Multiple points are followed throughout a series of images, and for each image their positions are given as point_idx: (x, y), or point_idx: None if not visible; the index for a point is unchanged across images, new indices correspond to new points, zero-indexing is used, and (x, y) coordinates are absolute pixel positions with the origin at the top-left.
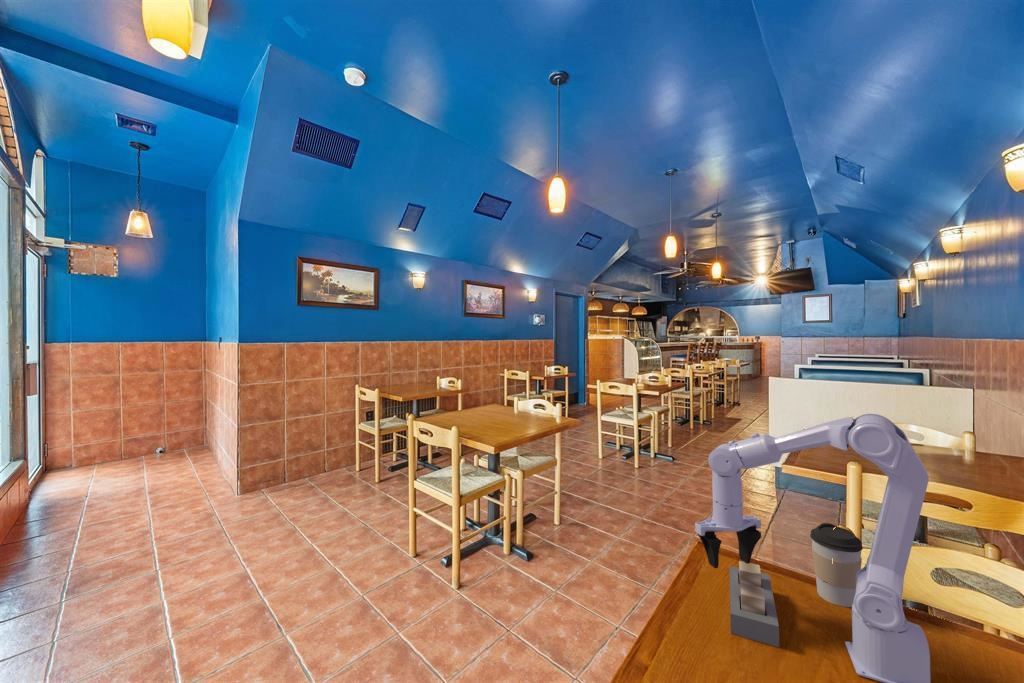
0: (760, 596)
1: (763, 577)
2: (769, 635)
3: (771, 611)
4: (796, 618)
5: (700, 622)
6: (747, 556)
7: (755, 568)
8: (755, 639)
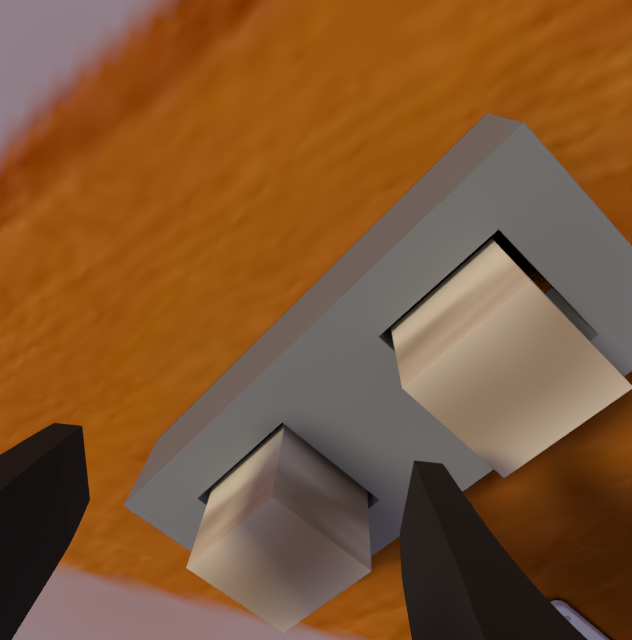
0: (283, 612)
1: (618, 337)
2: None
3: None
4: (534, 459)
5: (59, 347)
6: (407, 604)
7: (550, 409)
8: None
